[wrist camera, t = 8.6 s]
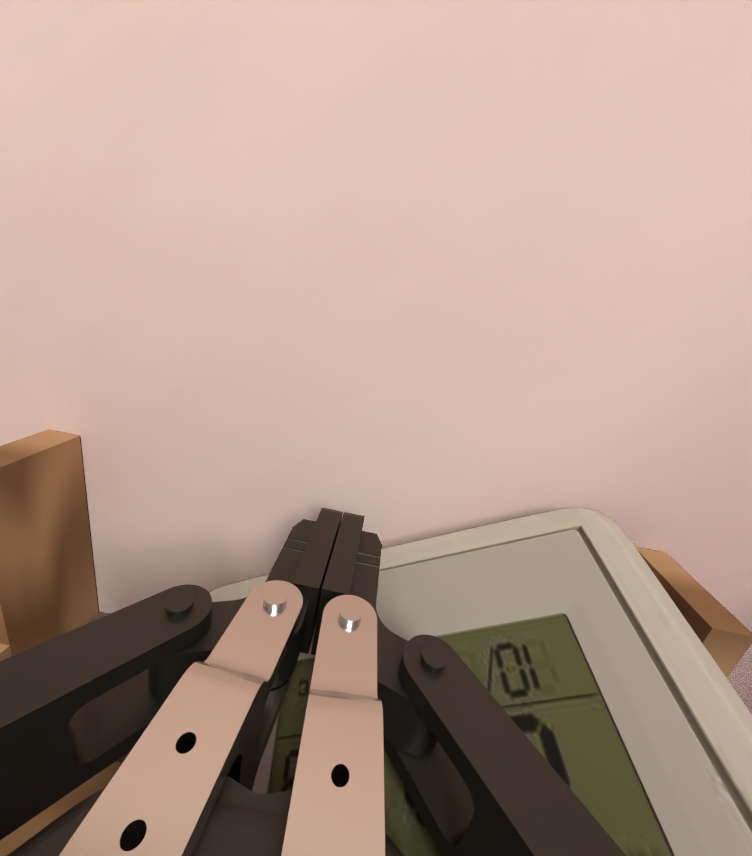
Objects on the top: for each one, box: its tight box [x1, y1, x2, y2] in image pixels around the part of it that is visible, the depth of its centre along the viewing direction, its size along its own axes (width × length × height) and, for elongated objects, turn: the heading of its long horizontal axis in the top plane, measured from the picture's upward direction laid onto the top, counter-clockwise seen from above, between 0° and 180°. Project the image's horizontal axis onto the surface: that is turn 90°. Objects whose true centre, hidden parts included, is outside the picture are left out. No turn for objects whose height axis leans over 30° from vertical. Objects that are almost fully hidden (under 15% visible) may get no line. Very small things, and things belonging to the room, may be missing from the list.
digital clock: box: [210, 508, 752, 856], centre depth 10 cm, size 16×9×11 cm, turn 97°
